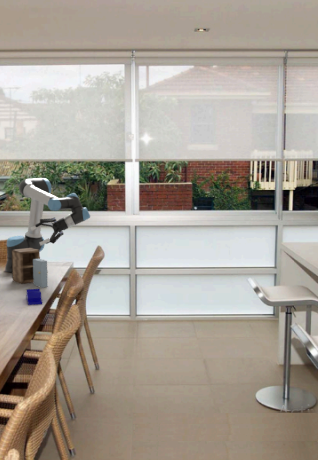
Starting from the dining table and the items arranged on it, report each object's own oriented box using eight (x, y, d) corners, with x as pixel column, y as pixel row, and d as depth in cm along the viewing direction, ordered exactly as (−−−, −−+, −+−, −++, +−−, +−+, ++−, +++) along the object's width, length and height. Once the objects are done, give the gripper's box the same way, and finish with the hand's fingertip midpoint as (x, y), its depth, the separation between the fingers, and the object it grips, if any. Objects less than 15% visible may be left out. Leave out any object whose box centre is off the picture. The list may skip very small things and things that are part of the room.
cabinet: (12, 280, 379) (11, 249, 376) (31, 277, 388) (30, 247, 385) (21, 284, 370) (20, 252, 367) (41, 280, 379) (40, 249, 376)
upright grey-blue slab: (32, 285, 367) (31, 259, 365) (39, 284, 370) (38, 258, 368) (40, 287, 359) (39, 261, 357) (47, 286, 363) (46, 260, 360)
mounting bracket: (42, 304, 321) (41, 294, 321) (28, 305, 319) (28, 294, 319) (39, 297, 338) (38, 286, 338) (26, 298, 337) (25, 287, 336)
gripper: (60, 211, 367) (28, 226, 365) (74, 239, 384) (44, 253, 382) (57, 205, 373) (26, 219, 371) (72, 232, 389) (42, 246, 388)
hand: (35, 236), depth 376 cm, fingers open, 13 cm apart
